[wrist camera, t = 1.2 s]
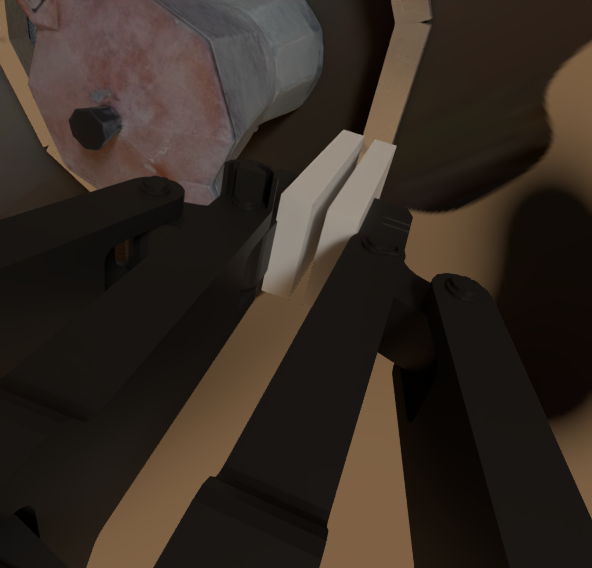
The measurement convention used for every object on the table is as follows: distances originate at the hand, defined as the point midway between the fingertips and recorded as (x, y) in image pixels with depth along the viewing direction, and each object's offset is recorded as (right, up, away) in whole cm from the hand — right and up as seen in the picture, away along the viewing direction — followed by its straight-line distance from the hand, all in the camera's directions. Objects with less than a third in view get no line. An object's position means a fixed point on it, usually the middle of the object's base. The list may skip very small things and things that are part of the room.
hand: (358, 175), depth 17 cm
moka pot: (-5, +13, +17) cm, 22 cm away
